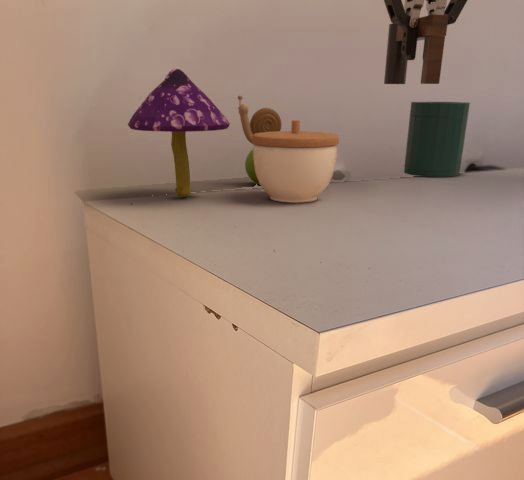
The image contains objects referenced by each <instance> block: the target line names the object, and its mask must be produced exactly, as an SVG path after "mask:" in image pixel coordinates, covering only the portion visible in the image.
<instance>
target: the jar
mask: <svg viewBox="0 0 524 480" xmlns="http://www.w3.org/2000/svg"><path fill="white" fill-rule="evenodd" d="M470 104H471V103H470V102H463V101H462V102H461V101H411V103H410V111H409V120H408V129H407V137H406V138H407V139H406V148H405V156H404V165H403V167H404V170H403V173H404V174H406V175H410V176H416V177H426V178H428V177H429V178H451V177H457V176H459V175H460V172H461V167H462V159H463V154H464V153H463V152H464V145H465V138H466V134H467V133H466V132H467V126H468V118H469V113H470V112H469V111H470V106H471V105H470Z"/></svg>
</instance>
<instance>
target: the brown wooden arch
mask: <svg viewBox="0 0 524 480" xmlns="http://www.w3.org/2000/svg"><path fill="white" fill-rule="evenodd" d="M448 16H449V15H436V14H433V15H429V16H428V15H425V16H421V17H420V16H419V21H418V25H417V27H416V29H418V35H417V42H418V41H424V40H425V39H426V40H425V48H424V47H423V49H424V57H423V56H422V68H421V76H420V84H421V85H439V84H440V81H441V72H442V64H443V56H444V48H445V42H446V41H445V40H446V36H447V32H448V31H447V30H448V25H447V24H448ZM402 37H403V29H402V27H401V26H399V25H397V24H393V23H389V24H388V33H387V43H386V45H387V46H386V57H385V66H384V77H383V78H384V79H383V81H384V82H383V84H384V85H406V81H407V80H406V79H407V71H408V63H409V60H404V55H402V53H401V47H402Z"/></svg>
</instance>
